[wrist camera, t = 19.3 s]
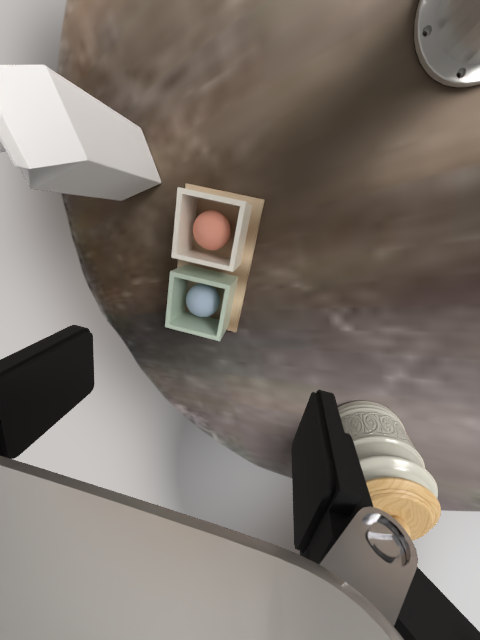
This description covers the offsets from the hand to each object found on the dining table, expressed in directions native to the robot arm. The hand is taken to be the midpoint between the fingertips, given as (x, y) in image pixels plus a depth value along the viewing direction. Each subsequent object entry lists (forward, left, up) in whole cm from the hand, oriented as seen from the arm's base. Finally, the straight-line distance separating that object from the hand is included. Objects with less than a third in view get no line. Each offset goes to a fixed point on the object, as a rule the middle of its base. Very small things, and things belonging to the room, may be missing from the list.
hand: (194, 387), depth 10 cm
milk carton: (-10, -21, -31) cm, 38 cm away
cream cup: (-4, -7, -29) cm, 30 cm away
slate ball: (+6, -7, -29) cm, 31 cm away
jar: (+24, +24, -31) cm, 46 cm away
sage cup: (+6, -7, -29) cm, 31 cm away
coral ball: (-4, -7, -29) cm, 30 cm away
